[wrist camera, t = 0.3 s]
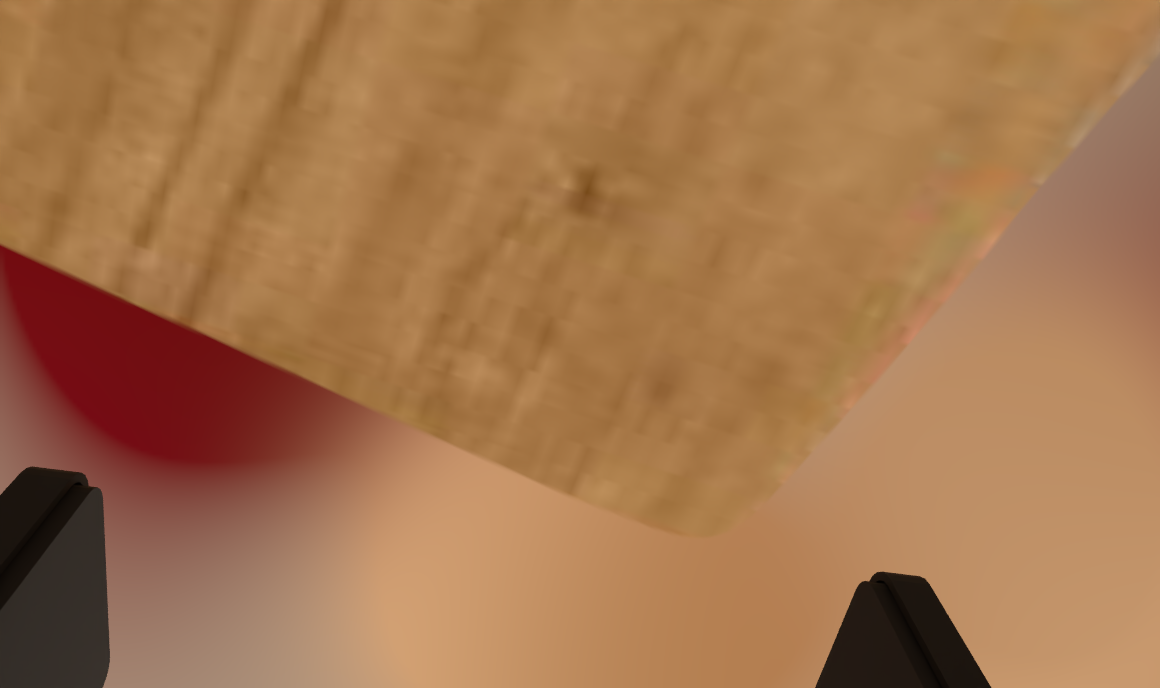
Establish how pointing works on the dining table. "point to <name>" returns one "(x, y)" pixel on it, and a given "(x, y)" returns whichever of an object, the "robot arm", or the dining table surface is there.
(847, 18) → the dining table surface
